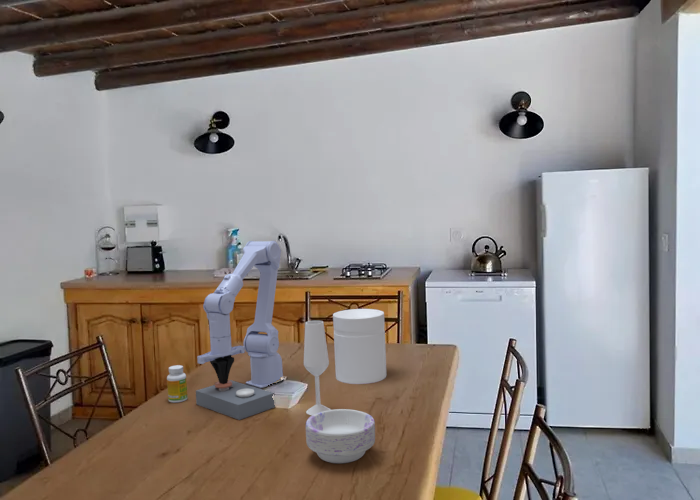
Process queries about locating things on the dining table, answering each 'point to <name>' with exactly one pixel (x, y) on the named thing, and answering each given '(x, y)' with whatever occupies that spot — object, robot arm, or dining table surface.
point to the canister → (359, 346)
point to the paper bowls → (340, 434)
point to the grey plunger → (244, 393)
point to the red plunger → (223, 385)
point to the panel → (235, 400)
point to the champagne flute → (315, 358)
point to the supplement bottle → (177, 384)
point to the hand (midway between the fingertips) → (223, 383)
